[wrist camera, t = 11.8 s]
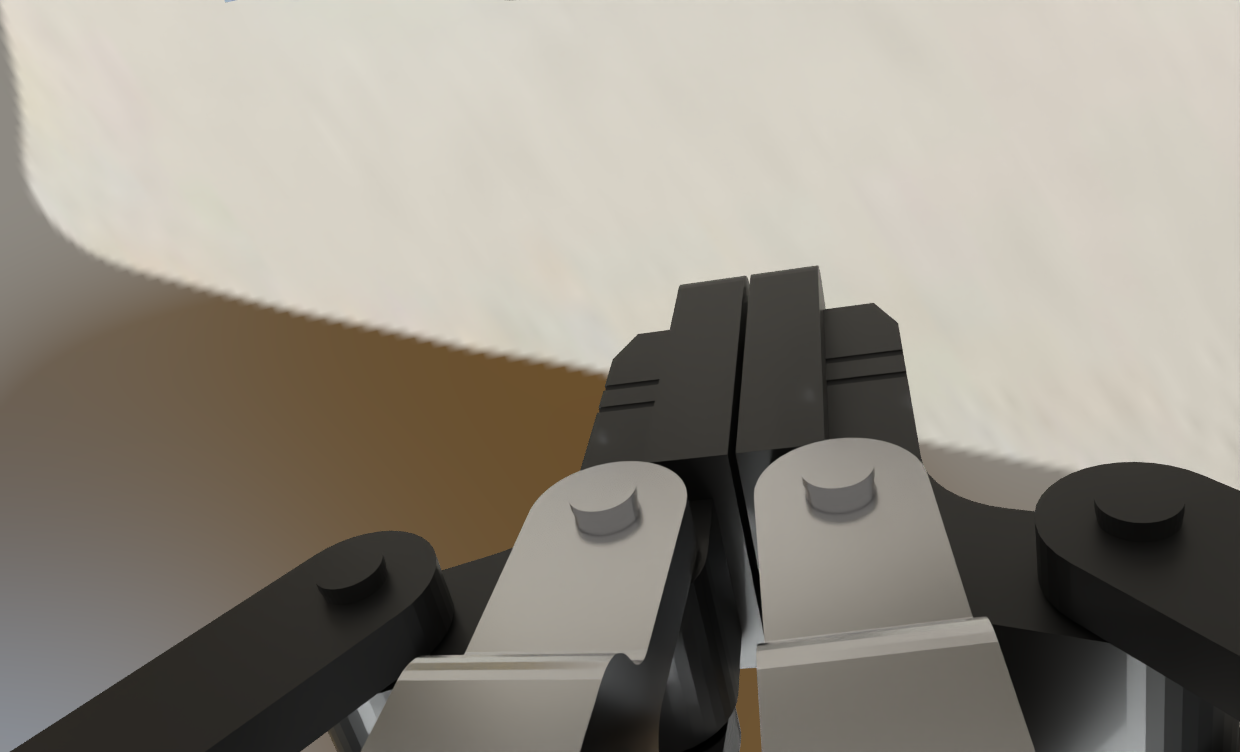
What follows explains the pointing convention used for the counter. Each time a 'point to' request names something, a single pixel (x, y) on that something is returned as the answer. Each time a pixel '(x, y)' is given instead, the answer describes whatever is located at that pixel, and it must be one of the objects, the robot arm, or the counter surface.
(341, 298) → the counter surface
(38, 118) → the counter surface
